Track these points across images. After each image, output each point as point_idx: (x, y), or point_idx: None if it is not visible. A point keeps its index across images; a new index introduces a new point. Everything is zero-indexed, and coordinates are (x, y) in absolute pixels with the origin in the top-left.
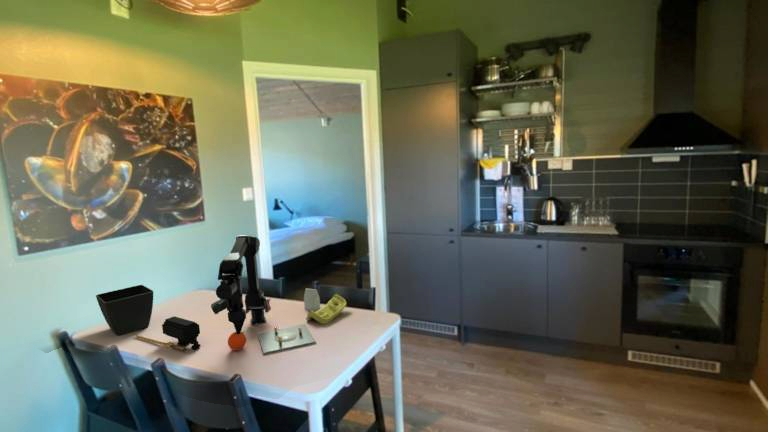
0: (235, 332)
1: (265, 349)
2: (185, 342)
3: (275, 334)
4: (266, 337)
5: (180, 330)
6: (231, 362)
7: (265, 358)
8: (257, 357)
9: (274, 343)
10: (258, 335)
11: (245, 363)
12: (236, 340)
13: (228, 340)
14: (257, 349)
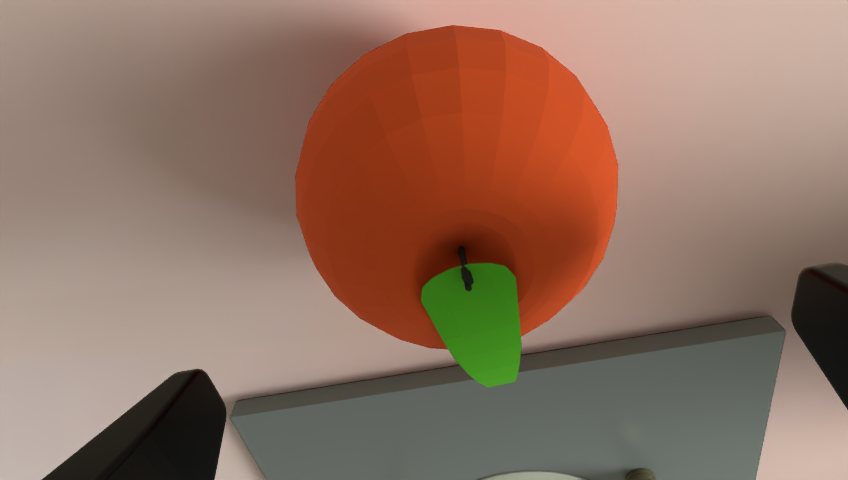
0: (515, 243)
1: (303, 425)
2: None
3: (630, 474)
4: (603, 413)
5: None
6: (61, 117)
7: None
8: (185, 359)
9: (420, 475)
10: (710, 344)
11: (48, 273)
12: (305, 236)
13: (385, 66)
14: (374, 344)
